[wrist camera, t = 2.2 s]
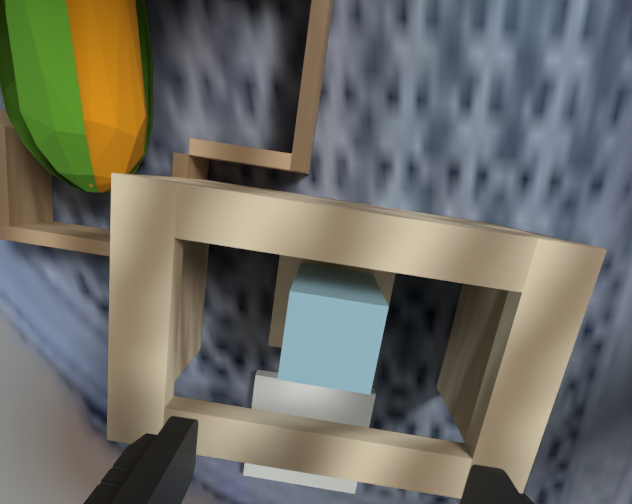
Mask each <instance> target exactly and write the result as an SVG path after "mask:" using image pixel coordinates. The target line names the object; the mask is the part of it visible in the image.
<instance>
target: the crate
mask: <svg viewBox="0 0 632 504" xmlns="http://www.w3.org/2000/svg"><path fill="white" fill-rule="evenodd" d="M209 244H215V245H221V246H228V247H234V248H241V249H247V250H253V251H260V252H266V253H272V254H279V255H280V257H279V265H278V273H277V280H276V288H275V296H274V303H273V311H272V319H271V327H270V334H269V342H268V346H273V347H279V348H282V343H283V336H284V328H285V321H286V314H287V307H288V300H289V293H290V289H291V286H292V284H293V281H294V279H295V276H296V274H297V271H298V269H299V266H300V264H301V263H304V264H310V265H316V266H323V267H329V268H335V269H342V270H348V271H355V272H361V273H367V274H373V275H374V277H375V279H376V281H377V284H378V286H379V288H380V290H381V292H382V294H383V296H384V298H385V300H386V302H387V304H388V306H389V303H390V298H391V294H392V289H393V284H394V279H395V275H396V273H400V274H406V275H413V276H419V277H425V278H432V279H438V280H445V281H451V282H457V283H463V285H462V289H461V293H460V297H459V301H458V305H457V309H456V313H455V317H454V321H453V325H452V328H451V332H450V336H449V340H448V344H447V348H446V352H445V356H444V360H443V364H442V367H441V371H440V375H439V379H438V383H437V387H436V388H437V390H438V391H439V393H440V395H441V397H442V399H443V401H444V403H445V405H446V407H447V408H448V410H449V412H450V414H451V416H452V418H453V420H454V422H455V424H456V426H457V427H458V429H459V431H460V433H461V435H462V437H463V439H464V441H465V443H458V442H452V441H446V440H440V439H434V438H428V437H421V436H415V435H409V434H403V433H397V432H391V431H385V430H379V429H373V428H367V427H360V426H354V425H348V424H342V423H336V422H330V421H324V420H318V419H312V418H306V417H299V416H293V415H287V414H281V413H275V412H269V411H263V410H257V409H251V408H245V407H238V406H232V405H226V404H220V403H214V402H208V401H202V400H196V399H190V398H184V397H177V396H174V384H175V380H176V379H177V378H178V377H179V375H180V374H181V373H182V372H183V370H184V369H185V368H186V367H187V365H188V364H189V363H190V362H191V360H192V359H193V358H194V357H195V356H196V354H197V353H198V352H199V351H200V349H201V337H202V325H203V312H204V300H205V288H206V276H207V264H208V252H209ZM606 251H607V249H604V248H599V247H595V246H590V245H586V244H581V243H577V242H572V241H568V240H563V239H559V238H554V237H550V236H545V235H541V234H537V233H532V232H528V231H523V230H519V229H514V228H510V227H505V226H501V225H496V224H491V223H485V222H478V221H472V220H465V219H459V218H452V217H446V216H439V215H433V214H426V213H420V212H413V211H407V210H400V209H394V208H387V207H381V206H374V205H368V204H361V203H355V202H348V201H342V200H335V199H329V198H322V197H316V196H310V195H303V194H297V193H290V192H284V191H277V190H271V189H264V188H258V187H251V186H245V185H238V184H232V183H225V182H219V181H212V180H202V179H187V178H180V177H167V176H152V175H137V174H122V173H111V222H110V281H109V340H108V399H107V440H110V441H116V442H122V443H128V444H132V443H133V442H135V441H136V440H137V439H139V438H140V437H142V436H143V435H144V434H146V433H149V434H155V435H158V433H159V432H160V430H161V429H162V427H163V426H164V424H165V423H166V422H167V420H168V419H169V418H170V417H171V416H177V417H184V418H190V419H196V420H198V436H197V447H196V455H201V456H207V457H213V458H219V459H225V460H231V461H237V462H243V463H249V464H255V465H261V466H267V467H273V468H279V469H285V470H291V471H297V472H303V473H309V474H315V475H321V476H327V477H333V478H339V479H345V480H351V481H357V482H363V483H369V484H375V485H381V486H387V487H393V488H399V489H405V490H411V491H417V492H423V493H429V494H435V495H441V496H447V497H453V498H459V499H461V498H462V495H463V492H464V488H465V485H466V481H467V478H468V475H469V471H470V469H471V467H472V466H473V465H482V466H488V467H495V468H501V469H503V470H504V471H505V472H506V473H507V475H508V476H509V478H510V479H511V481H512V482H513V484H514V486H515V487H516V489H517V490H518V492H519V493H522V494H523V491H524V488H525V485H526V483H527V480H528V477H529V474H530V471H531V468H532V465H533V462H534V459H535V457H536V454H537V451H538V448H539V445H540V442H541V439H542V436H543V433H544V431H545V428H546V425H547V422H548V419H549V416H550V413H551V410H552V407H553V405H554V402H555V399H556V396H557V393H558V390H559V387H560V384H561V381H562V378H563V376H564V373H565V370H566V367H567V364H568V361H569V358H570V355H571V352H572V350H573V347H574V344H575V341H576V338H577V335H578V332H579V329H580V326H581V324H582V321H583V318H584V315H585V312H586V309H587V306H588V303H589V300H590V297H591V295H592V292H593V289H594V286H595V283H596V280H597V277H598V274H599V271H600V269H601V266H602V263H603V260H604V257H605V254H606Z"/></svg>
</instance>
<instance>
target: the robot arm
mask: <svg viewBox="0 0 632 504" xmlns="http://www.w3.org/2000/svg"><path fill="white" fill-rule="evenodd" d="M197 436H198V420H196V419H190V418H184V417H177V416H171V417H170V418H169V419H168V420H167V422H166V423H165V424H164V426H163V427H162V429H161V430H160V432H159V433H158V435H155V434H149V433H146V434H144V435H143V436H142V437H140V438H139V439H137V440H136V441H135V442H133V443H132V444H131V445H129V446H128V447H127V448H126V449H125V451H124V452H123V453H122V454H121V456H120V457H119V458H118V460H117V461H116V462H115V463H114V465H113V468H112V469H110V470H109V471H108V473H107V474H106V475H105V476H104V478H103V479H102V480H101V483H100V485H98V486H97V487H96V488H95V489H94V491H93V492H92V493H91V495H90V496H89V497H88V499H87V500H86V501H85V502H84V504H181V503H182V501H183V498H184V496H185V494H186V492H187V490H188V487H189V485H190V482H191V479H192V475H193V472H194V467H195V459H196V447H197ZM460 504H534V503H533V502H532V501H531V500H530V499H529V498H528V497H527V496H526V495H525V494H522V493H519V492H518V490H517V489H516V487H515V486H514V484H513V482H512V481H511V479H510V478H509V476H508V475H507V473H506V472H505V471H504V470H503V469H501V468H495V467H488V466H482V465H473V466H472V467H471V469H470V471H469V475H468V478H467V481H466V485H465V488H464V492H463V495H462V498H461V502H460Z"/></svg>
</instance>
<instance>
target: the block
mask: <svg viewBox="0 0 632 504" xmlns="http://www.w3.org/2000/svg"><path fill="white" fill-rule="evenodd" d="M388 308H389V306H388V304H387V302H386V300H385V298H384V296H383V294H382V292H381V290H380V288H379V286H378V284H377V281H376V279H375V277H374V275H373V274H367V273H361V272H355V271H348V270H342V269H335V268H329V267H323V266H316V265H310V264H304V263H301V264H300V266H299V269H298V271H297V274H296V276H295V279H294V281H293V284H292V286H291V289H290V293H289V300H288V307H287V314H286V321H285V328H284V336H283V343H282V350H281V357H280V364H279V371H278V378H277V380H283V381H289V382H295V383H301V384H307V385H314V386H320V387H326V388H332V389H338V390H344V391H351V392H357V393H363V394H369V395H370V394H371V389H372V385H373V380H374V375H375V370H376V366H377V361H378V356H379V351H380V346H381V342H382V337H383V332H384V327H385V323H386V318H387V313H388Z"/></svg>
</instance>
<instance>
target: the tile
mask: <svg viewBox="0 0 632 504" xmlns="http://www.w3.org/2000/svg"><path fill="white" fill-rule="evenodd" d="M277 378H278V373H277V372H270V371H264V370H257V372H256V375H255V383H254V391H253V399H252V407H251V409H257V410H263V411H269V412H275V413H281V414H287V415H293V416H299V417H306V418H312V419H318V420H324V421H330V422H336V423H342V424H348V425H354V426H360V427H367V428H369V425H370V420H371V416H372V411H373V406H374V402H375V397H376V392H375V388H372V389H371V394H370V395H369V394H363V393H357V392H351V391H344V390H338V389H332V388H326V387H320V386H314V385H307V384H301V383H295V382H289V381H283V380H277ZM243 475H244V476H250V477H256V478H262V479H268V480H274V481H280V482H286V483H292V484H298V485H304V486H310V487H316V488H322V489H328V490H334V491H340V492H346V493H352V494H355V491H356V486H357V481H351V480H345V479H339V478H333V477H327V476H321V475H315V474H309V473H303V472H297V471H291V470H285V469H279V468H273V467H267V466H261V465H255V464H249V463H245V464H244V472H243Z"/></svg>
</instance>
